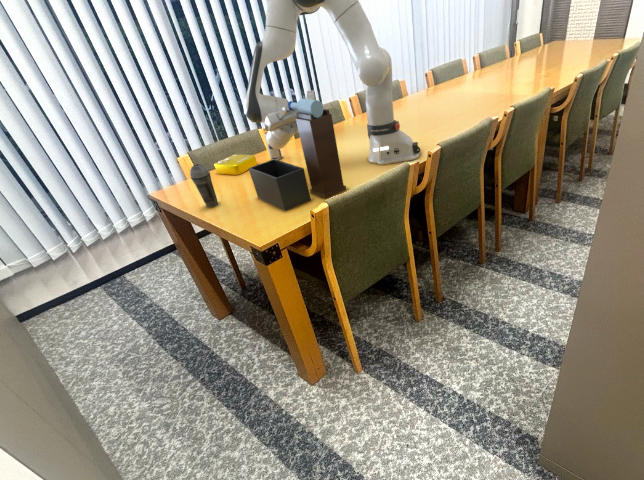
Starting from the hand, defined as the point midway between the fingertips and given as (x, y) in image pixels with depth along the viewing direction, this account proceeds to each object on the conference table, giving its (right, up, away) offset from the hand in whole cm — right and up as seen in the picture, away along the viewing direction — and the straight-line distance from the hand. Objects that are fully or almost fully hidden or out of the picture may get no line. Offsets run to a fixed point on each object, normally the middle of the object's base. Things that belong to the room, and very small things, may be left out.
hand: (297, 105), depth 137 cm
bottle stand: (+9, -25, +13) cm, 30 cm away
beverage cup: (-37, -29, +18) cm, 51 cm away
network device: (-3, +30, +79) cm, 84 cm away
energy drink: (-21, +6, +55) cm, 59 cm away
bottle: (+3, -4, -1) cm, 5 cm away
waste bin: (-8, -28, +13) cm, 32 cm away
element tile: (-38, -1, +51) cm, 64 cm away
